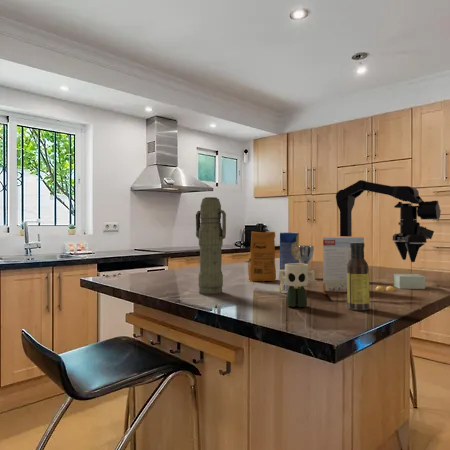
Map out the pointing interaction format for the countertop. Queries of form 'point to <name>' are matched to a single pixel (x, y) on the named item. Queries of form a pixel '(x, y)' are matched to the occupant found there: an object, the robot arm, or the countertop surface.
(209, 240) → the thermos
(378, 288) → the amber marble
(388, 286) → the amber marble
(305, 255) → the wine glass
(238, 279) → the countertop surface
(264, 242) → the coffee package
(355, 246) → the sauce bottle
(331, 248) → the cracker box
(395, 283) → the sage cover
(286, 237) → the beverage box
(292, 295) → the toy figurine
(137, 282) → the countertop surface
